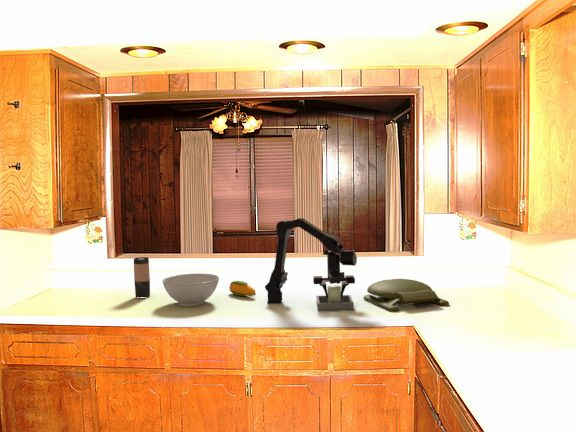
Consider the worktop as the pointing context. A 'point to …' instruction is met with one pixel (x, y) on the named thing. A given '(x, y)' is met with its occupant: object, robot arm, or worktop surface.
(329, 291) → the salad tub
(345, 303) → the serving bin
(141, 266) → the travel mug
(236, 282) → the corn
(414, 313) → the worktop surface
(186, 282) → the decorative bowl
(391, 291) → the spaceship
